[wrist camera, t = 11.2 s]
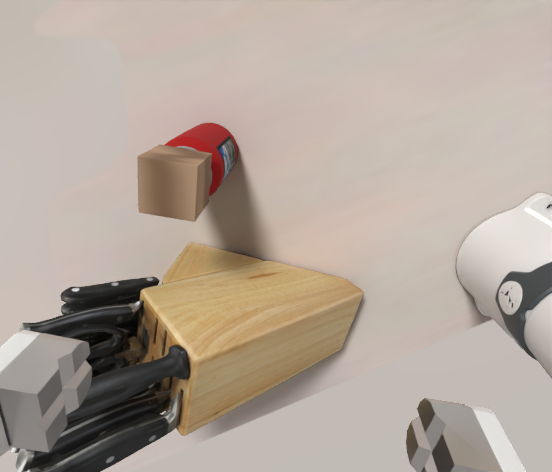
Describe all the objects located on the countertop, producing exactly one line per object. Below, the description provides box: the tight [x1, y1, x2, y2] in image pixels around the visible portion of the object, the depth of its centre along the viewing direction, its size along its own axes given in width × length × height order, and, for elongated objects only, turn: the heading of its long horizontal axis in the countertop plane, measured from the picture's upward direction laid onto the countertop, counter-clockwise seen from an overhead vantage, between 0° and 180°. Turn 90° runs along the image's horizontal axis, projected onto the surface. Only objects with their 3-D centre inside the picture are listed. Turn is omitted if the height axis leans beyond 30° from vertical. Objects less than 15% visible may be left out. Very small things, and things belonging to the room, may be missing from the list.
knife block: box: [9, 243, 364, 472], centre depth 40 cm, size 11×35×31 cm, turn 77°
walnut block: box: [138, 145, 212, 222], centre depth 33 cm, size 5×5×5 cm
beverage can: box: [165, 123, 238, 196], centre depth 40 cm, size 7×7×12 cm
